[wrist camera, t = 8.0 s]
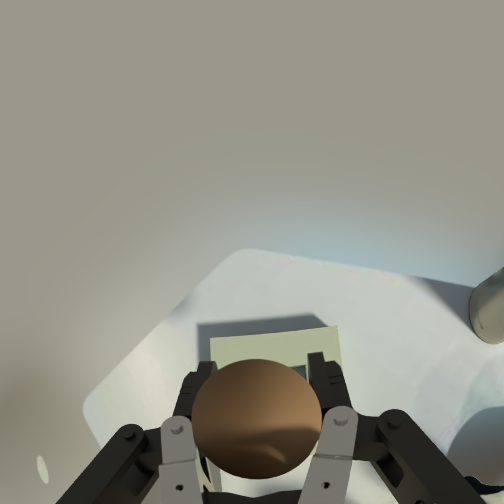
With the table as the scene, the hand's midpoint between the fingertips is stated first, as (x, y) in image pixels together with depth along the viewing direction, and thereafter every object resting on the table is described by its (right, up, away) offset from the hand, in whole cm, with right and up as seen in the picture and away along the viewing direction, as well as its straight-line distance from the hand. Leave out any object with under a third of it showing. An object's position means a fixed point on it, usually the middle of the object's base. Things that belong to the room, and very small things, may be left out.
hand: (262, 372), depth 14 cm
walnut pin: (+1, -4, +3) cm, 5 cm away
